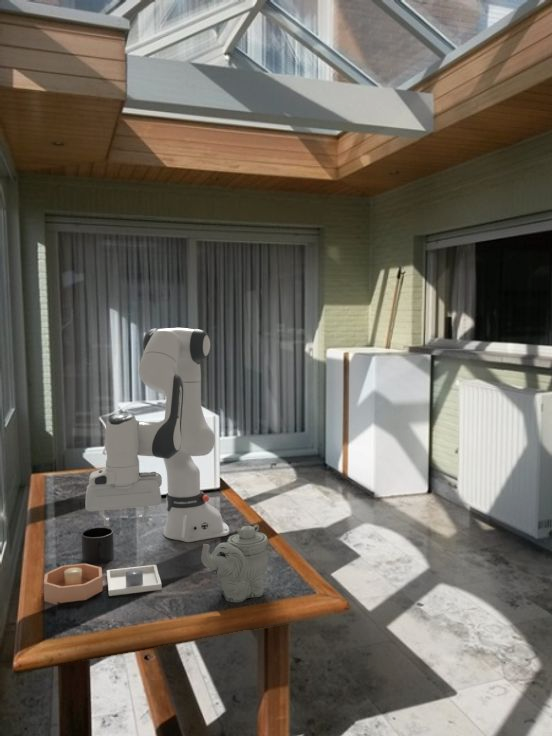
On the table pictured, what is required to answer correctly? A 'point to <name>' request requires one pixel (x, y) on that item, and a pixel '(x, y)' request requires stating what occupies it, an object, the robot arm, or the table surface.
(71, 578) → the sand pebble
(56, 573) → the bowl
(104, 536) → the mug
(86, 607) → the table surface
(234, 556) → the teapot
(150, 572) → the tray
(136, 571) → the slate pebble
